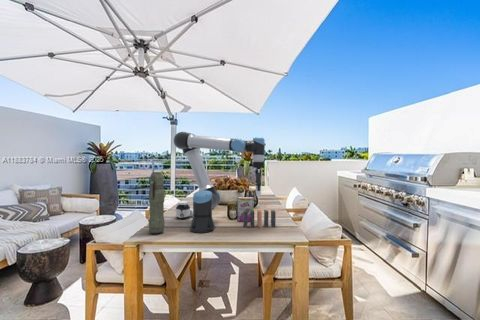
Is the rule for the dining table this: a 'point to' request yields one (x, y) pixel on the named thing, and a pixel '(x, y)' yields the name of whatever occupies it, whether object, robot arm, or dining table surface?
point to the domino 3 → (259, 218)
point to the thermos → (156, 203)
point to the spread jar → (183, 210)
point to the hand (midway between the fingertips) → (258, 194)
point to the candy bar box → (244, 207)
